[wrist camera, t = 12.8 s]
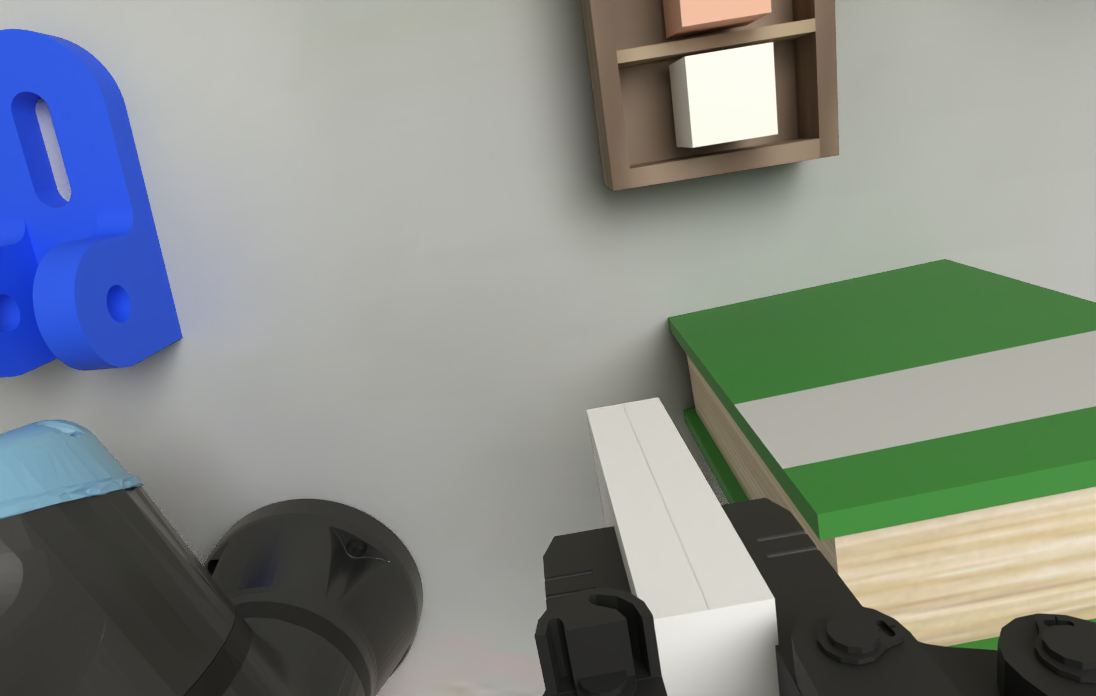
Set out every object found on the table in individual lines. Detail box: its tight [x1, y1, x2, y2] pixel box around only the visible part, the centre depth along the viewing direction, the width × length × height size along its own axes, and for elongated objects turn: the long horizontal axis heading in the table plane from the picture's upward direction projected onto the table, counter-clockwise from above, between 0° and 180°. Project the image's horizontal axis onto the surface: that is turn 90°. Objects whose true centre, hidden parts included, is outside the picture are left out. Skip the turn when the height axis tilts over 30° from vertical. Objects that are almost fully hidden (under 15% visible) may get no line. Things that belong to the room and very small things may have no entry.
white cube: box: [669, 42, 778, 148], centre depth 35 cm, size 4×4×4 cm
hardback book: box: [668, 259, 1096, 650], centre depth 33 cm, size 18×7×24 cm, turn 102°
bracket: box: [0, 29, 183, 377], centre depth 37 cm, size 18×8×9 cm, turn 5°
